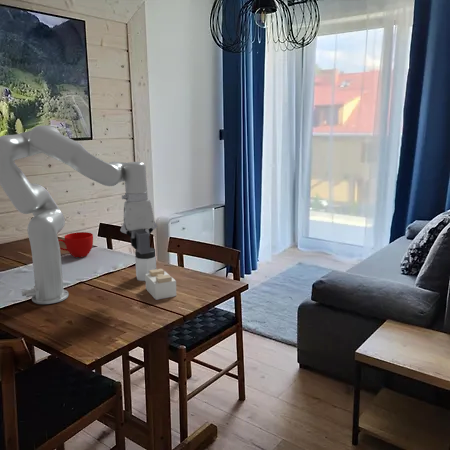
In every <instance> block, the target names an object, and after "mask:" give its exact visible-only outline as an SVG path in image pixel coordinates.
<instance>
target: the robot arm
mask: <svg viewBox="0 0 450 450" xmlns="http://www.w3.org/2000/svg"><path fill="white" fill-rule="evenodd" d="M38 154H44V155H47V156H49V157H50V158H53V159H55V160H56V161H59V162H61V163H63V164H65V165H67V166H69V167H70V168H71V169H73V170H75V171H76V172H78V173H79V174H81V175H82V176H84V177H86V178H87V179H90V180H92V181H94V182H96V183H98V184H101V185H103V186H106V187H114V186H116V185H118V184H119V183H121V182H122V183H123V182H124V189H125V190H124V191H125V193H124V194H123V195H121V199H122V200H124V203H123V224H122V225H121V228H120V230H119V232H121V233H123V234H126V235H127V236H128V237H130V245H132V246H131V247H132V248H134V250H136V249H137V244H136V238H135V230H141V229H143V230H145V231H146V232H147V233H149V236H150V235H151V233H152V232H153V231H155V229H157V228H158V224H157V223H156V221H155V218H154V212H153V207H152V201H151V200H150V199H148V197H149V195H148V185H147V182H148V181H147V170H146V164H145V163H144V162H142V161H129V162H120V161H110V162H107V161H104V160H102V159H100V158H99V157H96V156H95V155H93V154H91V153H90V152H89V151H88V150H87V149H86V148H85V146H84V145H82V143H80V142H78V141H77V140H74V139H72V138H70V137H68V136H66V135H64V134H62V133H61V132H60V131H59V129H57V127H54V126H52V125H37V126H34V127H33V128H31V130H29V131H24V132H19V133H16V134H5V135H1V136H0V188H2V190H3V192H4V193H5V194H6V196H7V198H8V199H9V201H10V202H11V204H12V205H13V206H14V208H15V209H16V210H17V211H18V212H19V213H20V214H22V215H23V214H24V215H29V214H32V215H33V217H32V218H31V219H30V220H29V222H28V223H27V235H28V240H29V244H30V249H31V259H32V269H33V276H34V277H33V278H34V279H33V280H34V286H33V288H30V289H29V290H27V289H26V290H25V289H24V290H22V291H21V296H22V297H25V296H26V297H25V298H31V301H32V302H33V303H34V304H37V305H52V304H56V303H57V304H58V303H61V302H63V301H65V300H67V298H69V291H68V290H67V289H64V280H63V268H62V267H63V266H62V256H61V255H62V254H61V249H60V247H61V246H60V241H58V240H59V239H58V234H59V233H60V232H61V231H62V230H63V229H64V227H65V223H66V220H65V216H64V213H63V212H62V211H61V209H60V207H59V206H58V204H57V203H56V201H55V199H54V198H53V196H52V195H51V193H50V191H48V189H47V188H45V187H44V186H42V185H41V184H38V183H31V182H30V181H29V179H28V178H27V176H26V174H25V173H24V172H23V171H22V169H21V168H19V166H18V165H17V164H16V162H15V160H16V161H17V160H22V159H24V158H28V157H31V156H36V155H38Z"/></svg>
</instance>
